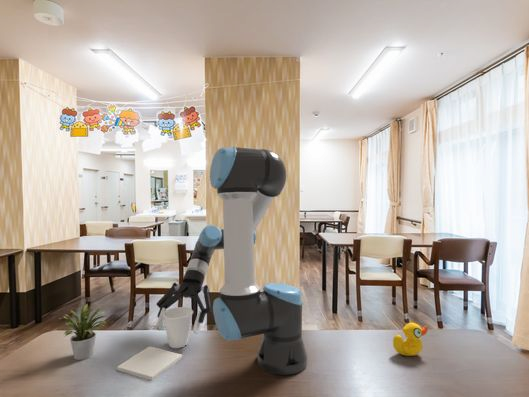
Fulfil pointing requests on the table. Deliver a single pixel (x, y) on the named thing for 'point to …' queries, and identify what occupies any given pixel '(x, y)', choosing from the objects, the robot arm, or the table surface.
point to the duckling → (410, 340)
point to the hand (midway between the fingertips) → (176, 330)
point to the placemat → (149, 363)
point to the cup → (178, 326)
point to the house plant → (83, 333)
